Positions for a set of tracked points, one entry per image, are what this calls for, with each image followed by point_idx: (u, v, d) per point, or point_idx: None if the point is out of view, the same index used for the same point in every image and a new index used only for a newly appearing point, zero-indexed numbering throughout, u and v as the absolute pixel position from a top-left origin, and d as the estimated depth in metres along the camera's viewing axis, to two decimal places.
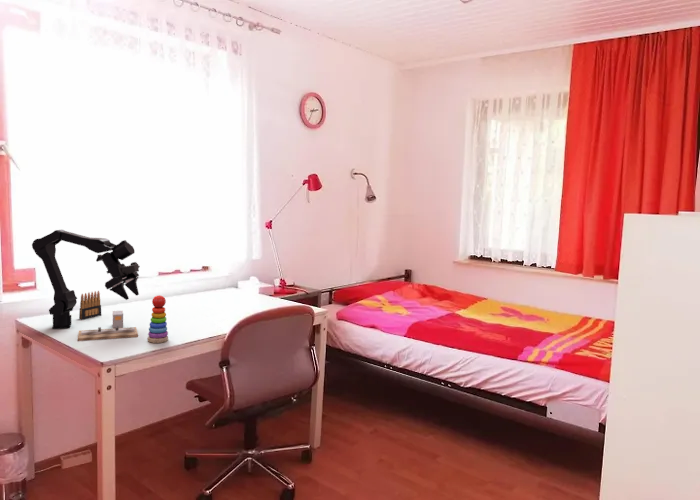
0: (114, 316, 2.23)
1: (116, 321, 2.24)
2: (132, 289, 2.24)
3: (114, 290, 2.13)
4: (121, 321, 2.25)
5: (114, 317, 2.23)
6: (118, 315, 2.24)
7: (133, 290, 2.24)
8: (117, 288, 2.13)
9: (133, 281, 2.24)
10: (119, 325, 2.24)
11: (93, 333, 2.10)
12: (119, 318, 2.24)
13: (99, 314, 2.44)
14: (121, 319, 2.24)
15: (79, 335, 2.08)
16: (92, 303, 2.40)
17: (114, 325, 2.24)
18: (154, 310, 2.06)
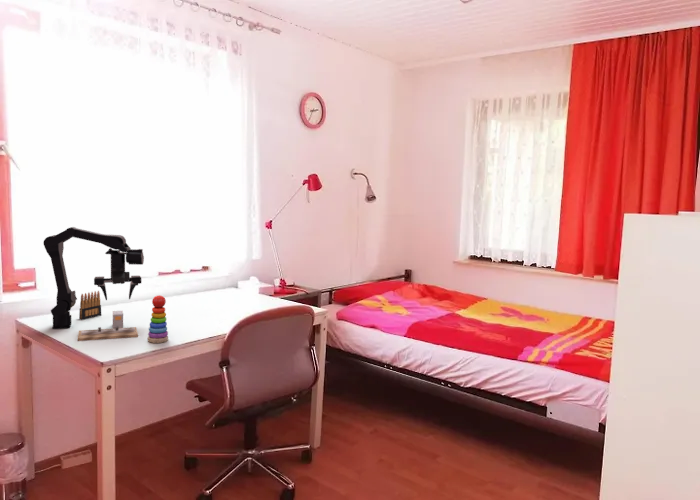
0: (114, 316, 2.23)
1: (116, 321, 2.24)
2: (129, 291, 2.28)
3: None
4: (121, 321, 2.25)
5: (114, 317, 2.23)
6: (118, 315, 2.24)
7: (129, 292, 2.28)
8: None
9: (130, 286, 2.26)
10: (119, 325, 2.24)
11: (93, 333, 2.10)
12: (119, 318, 2.24)
13: (99, 314, 2.44)
14: (121, 319, 2.24)
15: (79, 335, 2.08)
16: (92, 303, 2.40)
17: (114, 325, 2.24)
18: (154, 310, 2.06)
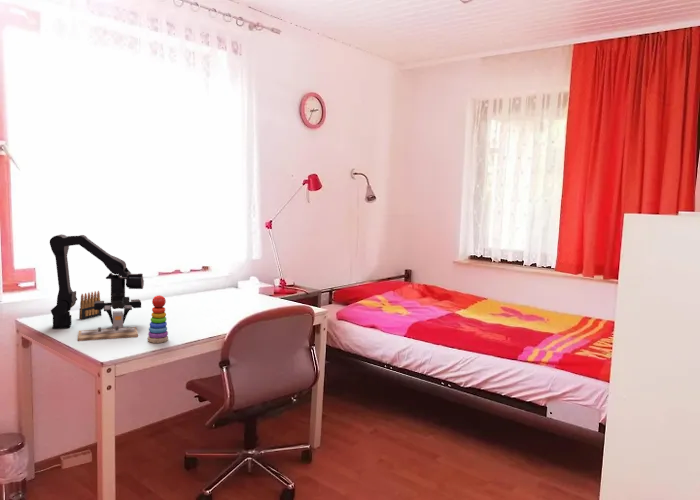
0: (114, 316, 2.23)
1: (116, 321, 2.24)
2: (123, 315, 2.29)
3: None
4: (121, 321, 2.25)
5: (114, 317, 2.23)
6: (118, 315, 2.24)
7: (123, 317, 2.28)
8: None
9: (124, 310, 2.27)
10: (119, 325, 2.24)
11: (93, 333, 2.10)
12: (119, 318, 2.24)
13: (99, 314, 2.44)
14: (121, 319, 2.24)
15: (79, 335, 2.08)
16: (92, 303, 2.40)
17: (114, 325, 2.24)
18: (154, 310, 2.06)
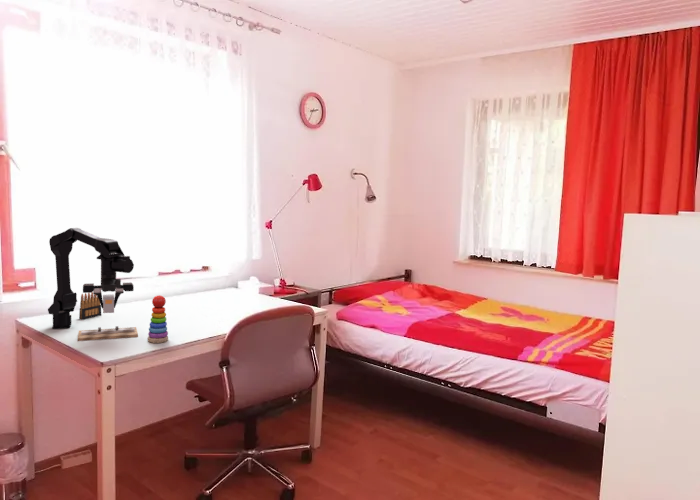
0: (104, 300, 2.09)
1: (106, 305, 2.09)
2: (114, 299, 2.14)
3: None
4: (112, 305, 2.10)
5: (104, 301, 2.09)
6: (109, 299, 2.09)
7: (114, 301, 2.14)
8: None
9: (115, 294, 2.12)
10: (110, 309, 2.10)
11: (93, 333, 2.10)
12: (110, 302, 2.10)
13: (99, 314, 2.44)
14: (111, 303, 2.10)
15: (79, 335, 2.08)
16: (92, 303, 2.40)
17: (104, 309, 2.09)
18: (154, 310, 2.06)
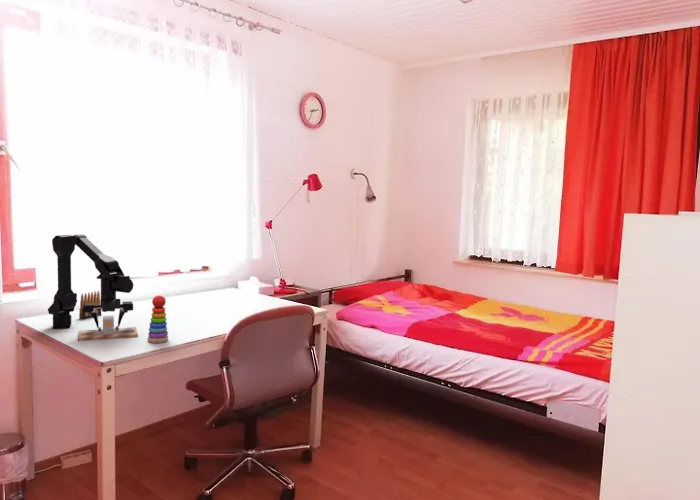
0: (104, 321, 2.10)
1: (106, 327, 2.10)
2: (118, 318, 2.16)
3: None
4: (112, 326, 2.11)
5: (104, 323, 2.10)
6: (108, 320, 2.10)
7: (118, 320, 2.16)
8: None
9: (119, 313, 2.14)
10: (109, 331, 2.11)
11: (93, 333, 2.10)
12: (109, 323, 2.11)
13: (99, 314, 2.44)
14: (111, 325, 2.11)
15: (79, 335, 2.08)
16: None
17: (104, 331, 2.10)
18: (154, 310, 2.06)
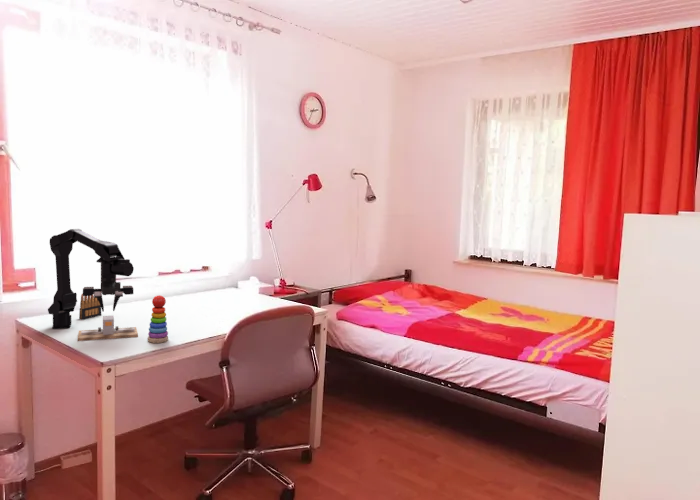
0: (104, 321, 2.10)
1: (106, 327, 2.10)
2: None
3: None
4: (112, 326, 2.11)
5: (104, 323, 2.10)
6: (108, 320, 2.10)
7: (113, 304, 2.14)
8: None
9: (114, 297, 2.12)
10: (109, 331, 2.11)
11: (93, 333, 2.10)
12: (109, 323, 2.11)
13: (99, 314, 2.44)
14: (111, 325, 2.11)
15: (79, 335, 2.08)
16: (92, 303, 2.40)
17: (104, 331, 2.10)
18: (154, 310, 2.06)
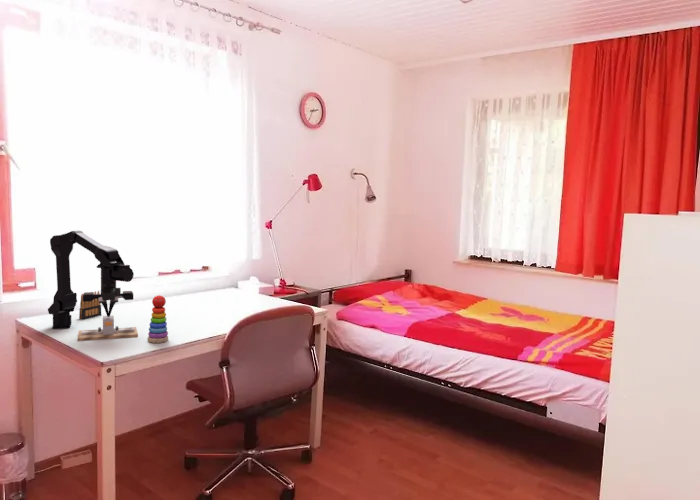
0: (104, 321, 2.10)
1: (106, 327, 2.10)
2: (109, 308, 2.14)
3: None
4: (112, 326, 2.11)
5: (104, 323, 2.10)
6: (108, 320, 2.10)
7: None
8: None
9: (110, 302, 2.12)
10: (109, 331, 2.11)
11: (93, 333, 2.10)
12: (109, 323, 2.11)
13: (99, 314, 2.44)
14: (111, 325, 2.11)
15: (79, 335, 2.08)
16: (92, 303, 2.40)
17: (104, 331, 2.10)
18: (154, 310, 2.06)
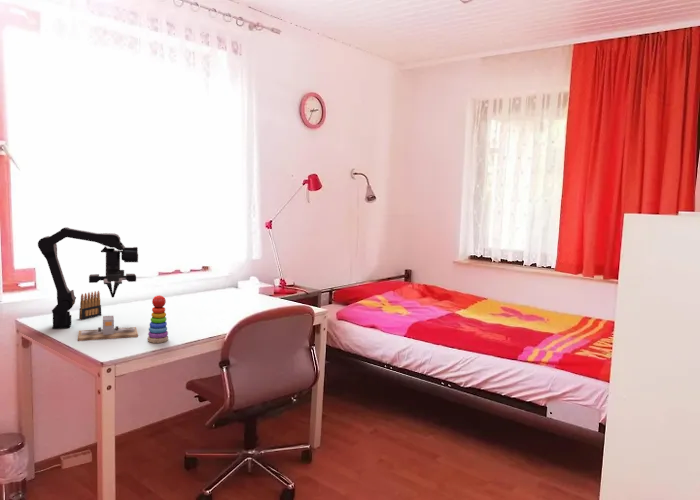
0: (104, 321, 2.10)
1: (106, 327, 2.10)
2: (113, 289, 2.28)
3: None
4: (112, 326, 2.11)
5: (104, 323, 2.10)
6: (108, 320, 2.10)
7: (113, 291, 2.28)
8: None
9: (114, 284, 2.26)
10: (109, 331, 2.11)
11: (93, 333, 2.10)
12: (109, 323, 2.11)
13: (99, 314, 2.44)
14: (111, 325, 2.11)
15: (79, 335, 2.08)
16: (92, 303, 2.40)
17: (104, 331, 2.10)
18: (154, 310, 2.06)
